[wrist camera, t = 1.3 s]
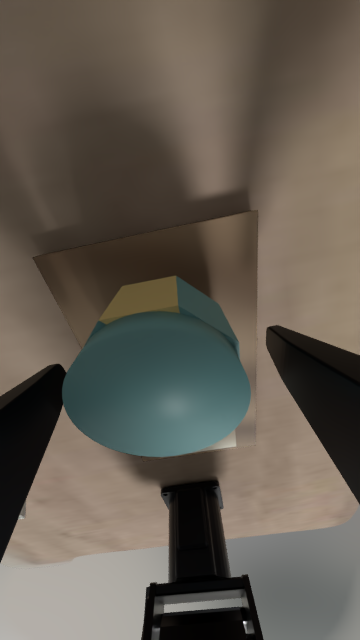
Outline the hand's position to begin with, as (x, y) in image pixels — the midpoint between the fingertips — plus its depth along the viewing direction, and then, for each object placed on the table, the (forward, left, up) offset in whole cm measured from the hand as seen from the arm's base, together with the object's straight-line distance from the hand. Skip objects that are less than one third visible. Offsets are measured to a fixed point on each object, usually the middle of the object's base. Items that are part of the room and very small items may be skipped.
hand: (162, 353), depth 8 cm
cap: (0, 0, -1) cm, 1 cm away
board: (-4, 0, -3) cm, 6 cm away
